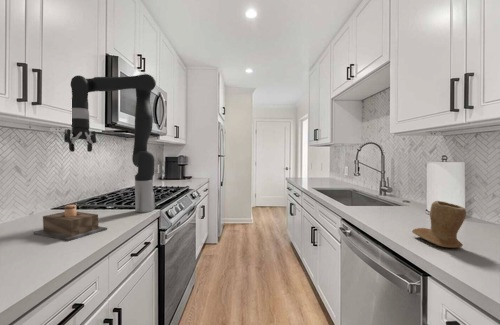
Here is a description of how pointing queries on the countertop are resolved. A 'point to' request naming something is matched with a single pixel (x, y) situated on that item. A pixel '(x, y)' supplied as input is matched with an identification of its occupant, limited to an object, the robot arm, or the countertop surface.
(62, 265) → the countertop surface
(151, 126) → the robot arm
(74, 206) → the dowel pin
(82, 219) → the hitch block
